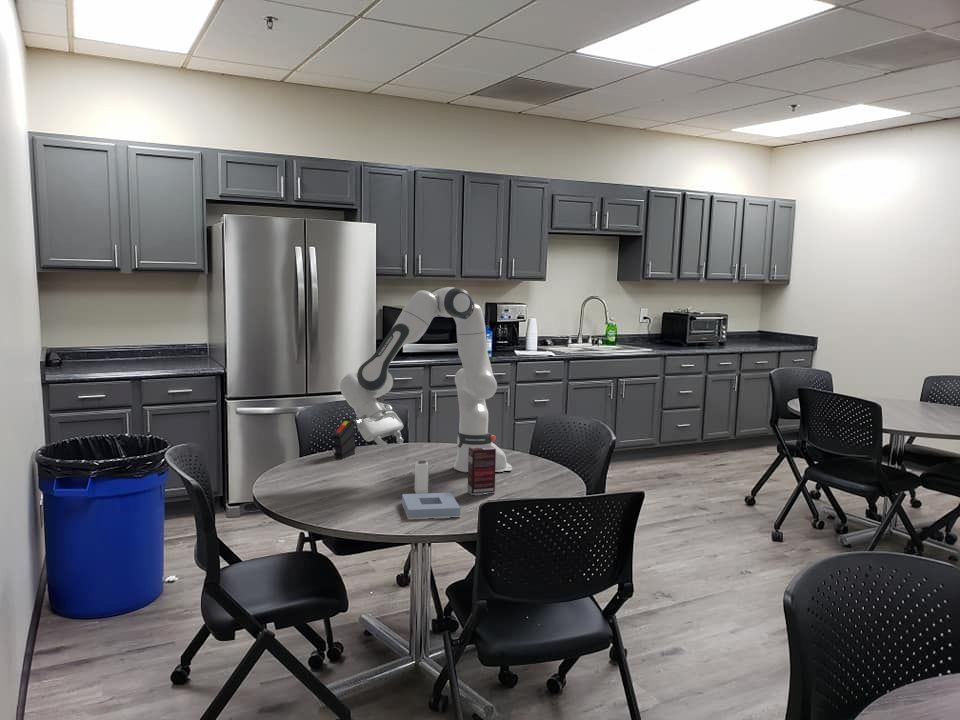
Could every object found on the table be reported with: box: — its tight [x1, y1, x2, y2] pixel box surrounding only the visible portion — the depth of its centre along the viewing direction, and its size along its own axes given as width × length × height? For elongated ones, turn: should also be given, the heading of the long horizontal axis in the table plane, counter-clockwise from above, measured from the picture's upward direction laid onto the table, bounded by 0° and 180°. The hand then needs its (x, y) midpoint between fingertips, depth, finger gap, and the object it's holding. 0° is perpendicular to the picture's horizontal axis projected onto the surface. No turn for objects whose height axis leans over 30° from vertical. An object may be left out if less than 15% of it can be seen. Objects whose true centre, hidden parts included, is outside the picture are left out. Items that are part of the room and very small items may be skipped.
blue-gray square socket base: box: [401, 492, 462, 520], centre depth 226 cm, size 16×16×3 cm
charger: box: [413, 460, 430, 494], centre depth 244 cm, size 4×4×11 cm
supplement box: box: [467, 446, 496, 496], centre depth 245 cm, size 9×5×16 cm, turn 110°
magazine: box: [331, 418, 357, 460], centre depth 288 cm, size 4×13×15 cm, turn 161°
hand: (393, 444), depth 249 cm, fingers open, 8 cm apart
